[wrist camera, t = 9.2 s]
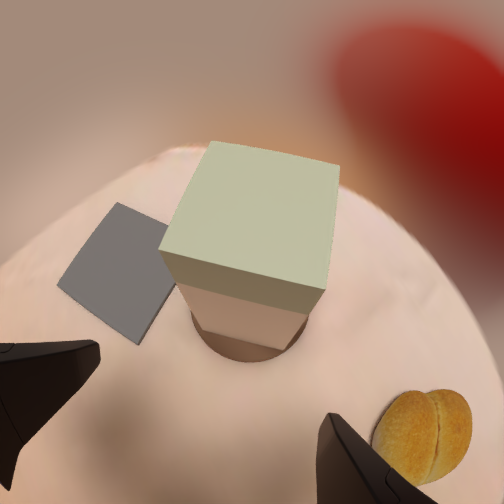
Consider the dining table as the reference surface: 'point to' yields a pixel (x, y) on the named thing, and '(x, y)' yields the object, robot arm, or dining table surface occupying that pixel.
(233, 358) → the disc
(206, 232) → the carton
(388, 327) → the dining table surface
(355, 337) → the dining table surface
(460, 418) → the bread roll
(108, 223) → the mat
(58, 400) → the robot arm
